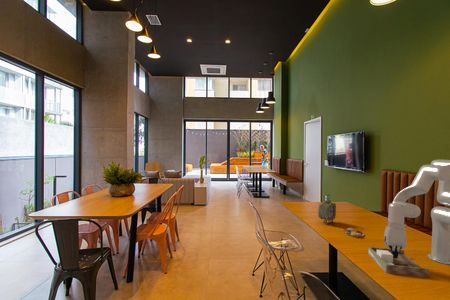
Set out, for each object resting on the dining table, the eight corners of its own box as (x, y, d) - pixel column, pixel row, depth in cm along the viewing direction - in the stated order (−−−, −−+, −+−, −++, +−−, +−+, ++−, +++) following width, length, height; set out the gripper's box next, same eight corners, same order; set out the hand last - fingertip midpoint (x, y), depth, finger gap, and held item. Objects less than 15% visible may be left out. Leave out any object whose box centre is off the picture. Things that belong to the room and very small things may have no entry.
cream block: (387, 257, 143) (387, 250, 143) (392, 262, 137) (393, 255, 137) (376, 256, 144) (376, 249, 144) (381, 261, 138) (381, 253, 138)
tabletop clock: (327, 226, 204) (328, 196, 204) (317, 223, 211) (318, 194, 210) (335, 222, 214) (336, 194, 213) (325, 220, 220) (326, 192, 220)
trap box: (403, 256, 149) (403, 250, 149) (428, 277, 126) (429, 269, 126) (367, 253, 153) (368, 246, 153) (386, 272, 129) (386, 265, 129)
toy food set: (358, 239, 177) (358, 234, 177) (340, 233, 188) (340, 229, 188) (366, 235, 185) (366, 231, 185) (349, 230, 196) (349, 226, 195)
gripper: (406, 224, 141) (405, 255, 142) (378, 222, 144) (377, 253, 144) (414, 228, 134) (412, 261, 134) (384, 226, 136) (383, 259, 137)
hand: (394, 257), depth 139 cm, fingers closed
